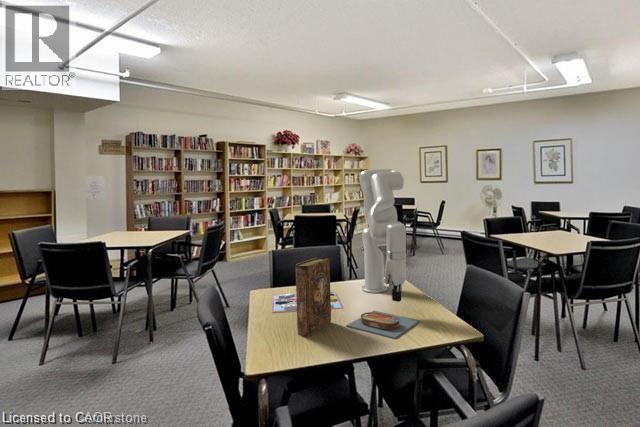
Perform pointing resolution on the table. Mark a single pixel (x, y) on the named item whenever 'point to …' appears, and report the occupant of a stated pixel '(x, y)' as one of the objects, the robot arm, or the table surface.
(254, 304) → the table surface
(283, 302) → the puzzle board
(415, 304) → the table surface
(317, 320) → the book
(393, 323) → the tin
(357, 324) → the mat
